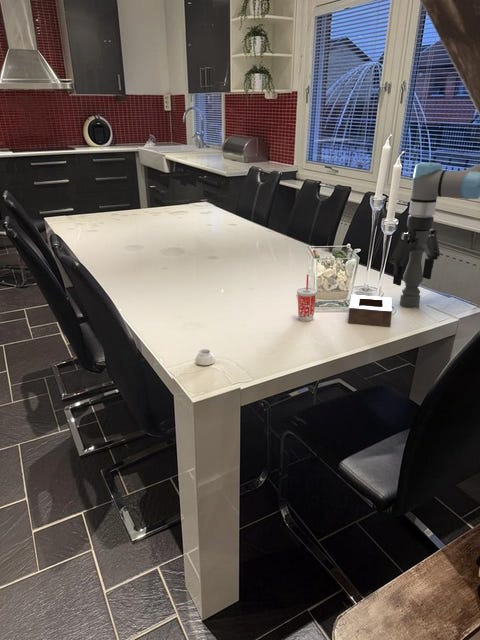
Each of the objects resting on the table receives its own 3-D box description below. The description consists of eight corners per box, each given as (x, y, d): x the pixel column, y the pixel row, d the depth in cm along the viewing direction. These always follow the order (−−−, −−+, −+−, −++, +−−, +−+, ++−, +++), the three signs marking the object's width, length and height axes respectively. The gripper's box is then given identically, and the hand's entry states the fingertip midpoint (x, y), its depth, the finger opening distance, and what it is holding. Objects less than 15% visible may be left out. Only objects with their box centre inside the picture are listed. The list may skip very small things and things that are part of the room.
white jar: (202, 356, 121) (191, 363, 117) (202, 345, 120) (190, 353, 116) (219, 360, 118) (207, 368, 115) (218, 349, 117) (207, 357, 113)
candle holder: (416, 309, 151) (427, 232, 141) (397, 305, 154) (406, 230, 145) (421, 303, 156) (431, 228, 146) (402, 300, 159) (411, 226, 149)
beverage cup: (310, 313, 148) (313, 271, 143) (318, 320, 143) (321, 276, 137) (292, 315, 147) (294, 272, 141) (300, 322, 141) (302, 278, 136)
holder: (389, 312, 148) (391, 297, 146) (390, 327, 137) (392, 311, 135) (350, 309, 151) (351, 294, 149) (347, 323, 140) (349, 307, 139)
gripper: (438, 210, 152) (429, 272, 160) (382, 217, 141) (375, 284, 149) (458, 213, 146) (447, 278, 154) (401, 221, 135) (392, 290, 143)
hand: (411, 281), depth 152 cm, fingers open, 13 cm apart
